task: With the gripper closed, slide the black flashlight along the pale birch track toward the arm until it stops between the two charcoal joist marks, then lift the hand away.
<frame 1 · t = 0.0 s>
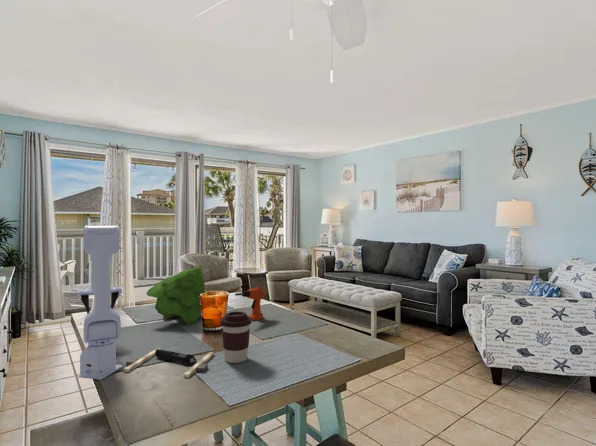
hand: (100, 312, 138), 11 cm above the table, tool pointing down, fingers open, 7 cm apart
coffee cup: (236, 359, 121), on the table
black flashlight: (175, 362, 120), on the table
decorative tree: (177, 319, 168), on the table
joist track: (171, 363, 118), on the table
toy drill: (249, 321, 166), on the table
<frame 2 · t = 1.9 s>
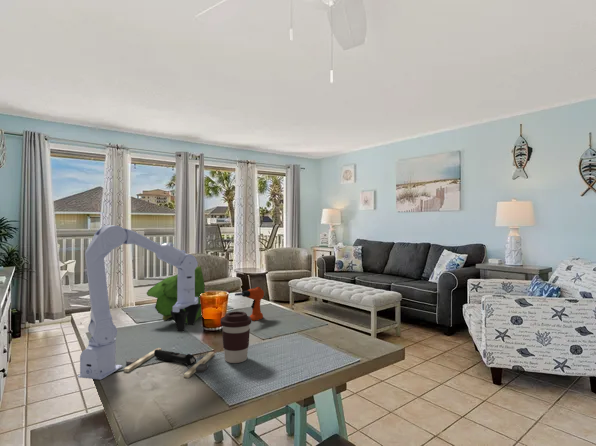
hand: (186, 328, 127), 8 cm above the table, tool pointing down, fingers open, 7 cm apart
nothing on the table moved.
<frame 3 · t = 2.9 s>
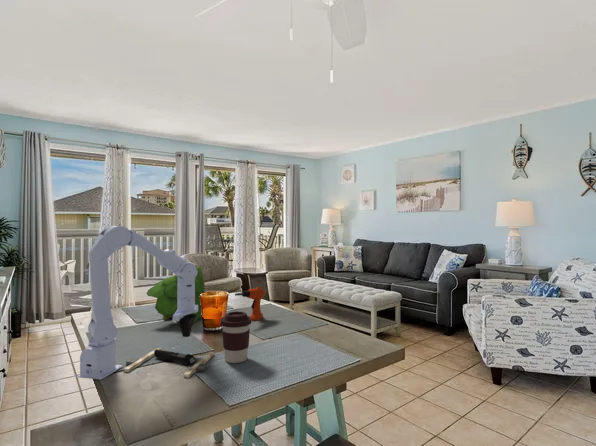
hand: (186, 336, 127), 6 cm above the table, tool pointing down, fingers closed
nothing on the table moved.
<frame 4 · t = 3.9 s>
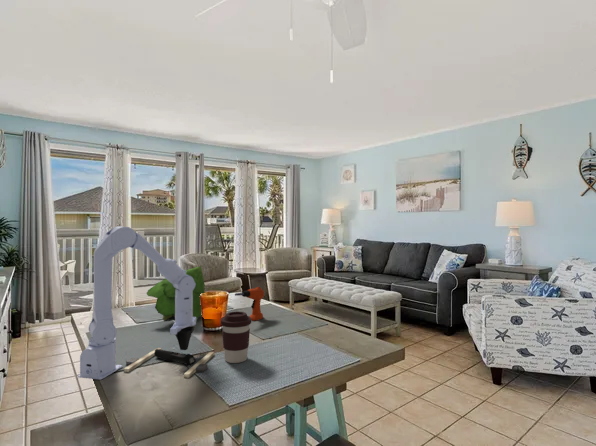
hand: (183, 349, 125), 2 cm above the table, tool pointing down, fingers closed
nothing on the table moved.
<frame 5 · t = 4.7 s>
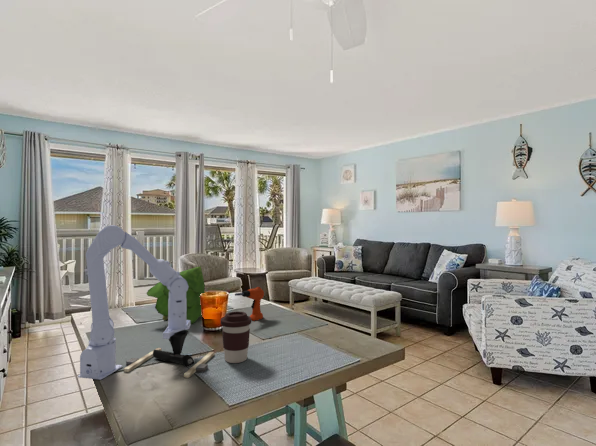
hand: (177, 353, 121), 2 cm above the table, tool pointing down, fingers closed
black flashlight: (172, 362, 119), on the table, touching gripper
everything else where it was.
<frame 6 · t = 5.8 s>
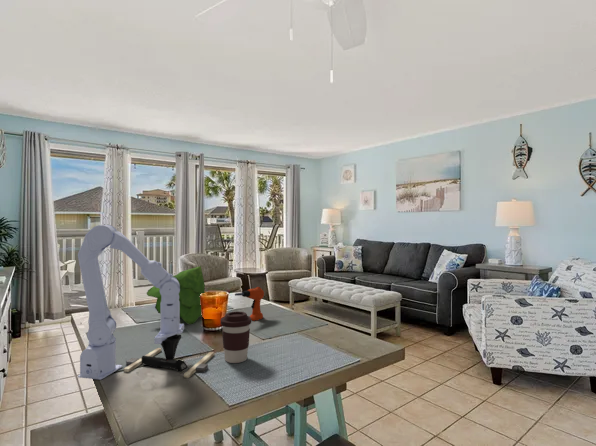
hand: (170, 359, 117), 2 cm above the table, tool pointing down, fingers closed
black flashlight: (163, 368, 114), on the table, touching gripper
everything else where it was.
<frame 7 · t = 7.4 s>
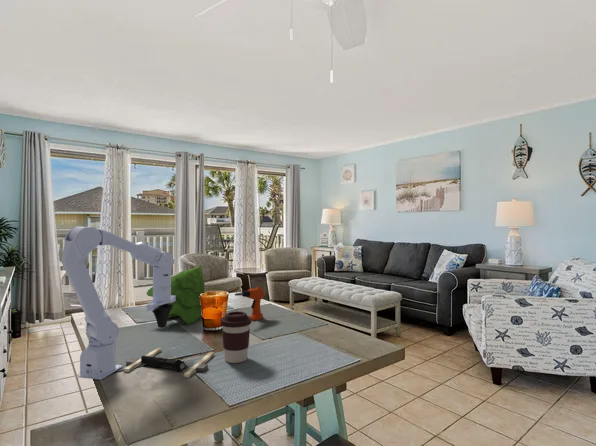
hand: (162, 326, 125), 9 cm above the table, tool pointing down, fingers closed
black flashlight: (163, 368, 114), on the table
everything else where it was.
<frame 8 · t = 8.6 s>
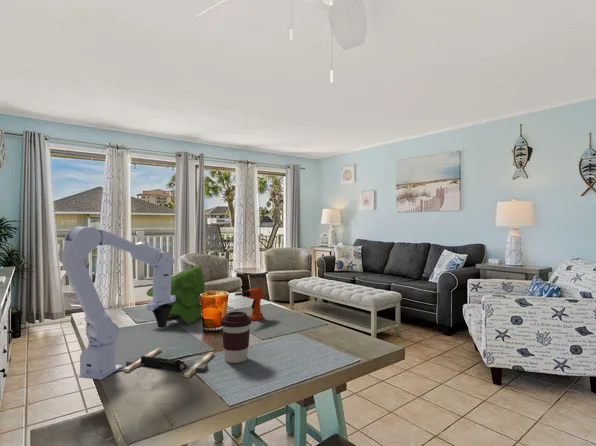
hand: (162, 326, 125), 9 cm above the table, tool pointing down, fingers closed
nothing on the table moved.
at the end: black flashlight 1.1 cm from the target spot, on the table; black flashlight tilted 0°; the gripper is holding nothing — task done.
